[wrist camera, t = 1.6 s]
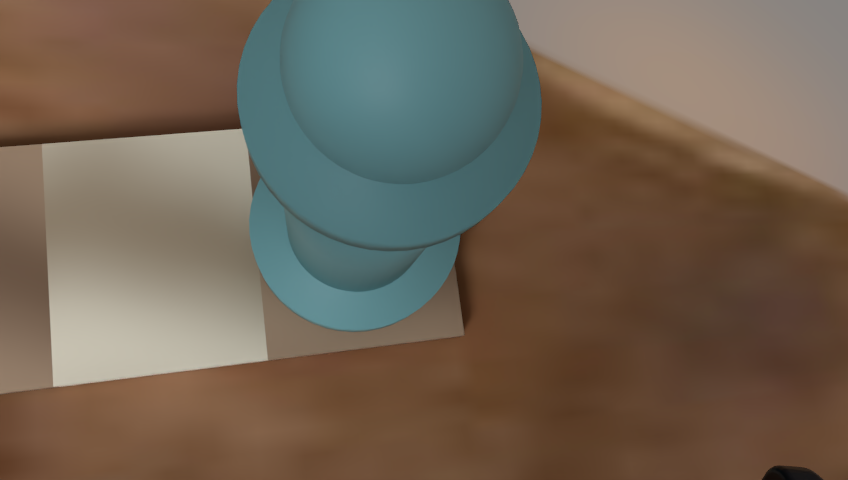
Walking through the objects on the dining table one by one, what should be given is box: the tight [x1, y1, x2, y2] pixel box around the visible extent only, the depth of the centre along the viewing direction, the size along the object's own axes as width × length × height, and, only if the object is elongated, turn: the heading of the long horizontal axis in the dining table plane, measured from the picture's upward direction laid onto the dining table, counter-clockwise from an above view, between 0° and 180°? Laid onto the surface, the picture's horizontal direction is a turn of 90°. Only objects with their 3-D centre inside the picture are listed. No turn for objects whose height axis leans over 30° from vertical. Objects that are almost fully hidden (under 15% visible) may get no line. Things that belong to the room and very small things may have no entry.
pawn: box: [237, 0, 542, 332], centre depth 14 cm, size 5×5×12 cm
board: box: [0, 129, 464, 394], centre depth 19 cm, size 6×20×1 cm, turn 98°
